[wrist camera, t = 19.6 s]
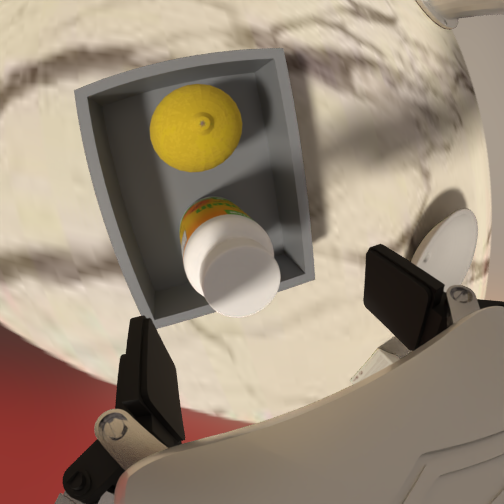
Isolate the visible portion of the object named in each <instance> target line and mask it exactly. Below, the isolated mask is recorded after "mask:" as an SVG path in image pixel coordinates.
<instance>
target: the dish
mask: <svg viewBox="0 0 504 504" xmlns="http://www.w3.org/2000/svg"><path fill="white" fill-rule="evenodd" d="M477 236H478V226H477V220H476V217H475V215H474V213H473V212H472V211H471V210H469V209H465V208H463V209H459V210H457V211H455V212H454V213H452V214H451V215H450V216H449V217H447V218H446V219H444V220H443V221H441V222H440V223H439V224H437V225H436V226H435V227H434V228H433V229H432V230H431V231H430V232H429V233H428V234H427V235H426V236H425V238H424V239H423V240H422V242H421V243H420V245H419V246H418V248H417V250H416V252H415V254H414V256H413V258H412V260H411V263H413V264H415V265H416V266H418V267H419V268H421V269H422V270H424V271H425V272H427V273H428V274H430V275H431V276H433V277H434V278H436V279H437V280H439V281H440V282H442V283H443V284H445V287H444V292H447V289H448V288H449V287H450V286H453V285H461V283H462V282H463V280H464V278H465V276H466V274H467V272H468V269H469V267H470V265H471V262H472V259H473V256H474V252H475V248H476V243H477Z"/></svg>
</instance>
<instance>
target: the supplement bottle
mask: <svg viewBox="0 0 504 504" xmlns="http://www.w3.org/2000/svg"><path fill="white" fill-rule="evenodd" d="M179 234H180V242H181V249H182V256H183V263H184V269H185V272H186V275H187V278H188V280H189V282H190V283H191V285H192V286H193V287H194V289H195V290H196V291H197V292H198V293H200V294H201V295H202V296H204V297H205V299H206V301H207V302H208V304H209V305H210V306H211V307H212V308H213V309H214V310H215V311H217V312H218V313H220V314H222V315H225V316H228V317H236V318H237V317H246V316H250V315H253V314H255V313H257V312H259V311H261V310H262V309H264V308H265V307H266V306H267V305H268V304H269V303H270V302H271V301H272V300H273V299H274V297H275V295H276V294H277V291H278V289H279V285H280V279H281V275H280V269H279V266H278V263H277V261H276V260H275V258H274V250H273V246H272V243H271V240H270V238H269V236H268V234H267V233H266V232H265V230H264V229H263V228H262V227H261V226H260V225H259V224H258V223H256V222H255V221H254V220H253V219H252V218H250V217H249V216H248V215H247V214H246V213H245V212H244V211H242V210H241V209H240V208H239V207H238V206H237V205H236V204H234V203H233V202H231V201H230V200H228V199H225V198H222V197H206V198H202V199H200V200H198V201H196V202H194V203H193V204H192V205H191V206H190V207H189V208H188V209H187V210H186V211H185V213H184V215H183V217H182V219H181V222H180V229H179Z"/></svg>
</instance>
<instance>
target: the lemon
mask: <svg viewBox="0 0 504 504" xmlns="http://www.w3.org/2000/svg"><path fill="white" fill-rule="evenodd" d="M241 134H242V119H241V113H240V111H239V109H238V107H237V105H236V103H235V102H234V101H233V99H232V98H231V97H230V96H229V95H228V94H227V93H225V92H224V91H222V90H221V89H219V88H216V87H213V86H211V85H205V84H192V85H186V86H183V87H181V88H178V89H176V90H174V91H172V92H171V93H169V94H168V95H167V96H165V97H164V98H163V100H162V101H161V102H160V103H159V104H158V106H157V107H156V109H155V111H154V113H153V115H152V118H151V123H150V139H151V142H152V145H153V147H154V150H155V151H156V153H157V154H158V156H159V157H160V158H161V159H162V160H163V161H164V162H165V163H167V164H168V165H169V166H171V167H173V168H175V169H178V170H180V171H186V172H203V171H206V170H209V169H213V168H215V167H216V166H218V165H220V164H222V163H223V162H224V161H225V160H226V159H227V158H229V157H230V156H231V155H232V153H233V152H234V150H235V149H236V147H237V146H238V143H239V140H240V137H241Z"/></svg>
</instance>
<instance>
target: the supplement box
mask: <svg viewBox="0 0 504 504" xmlns="http://www.w3.org/2000/svg"><path fill="white" fill-rule="evenodd" d="M399 359H400V358H399V357H398V356H397V355H394V354H391V353H388V352H386V351H383V350H381V349H379V348H378V349H377V350H376V351H375V352H374V353H373V355H372V356H371V357H370V358H369V359H368V360H367V362H366V363H365V364H364V365H363V366H362V367H361V368H360V370H359V371H358V372H357V373H356V374H355V375H354V376H353V377H352V379H351V380H350V381H351V383H352V384H355V383H357V382H359V381H361V380H363V379H365V378H367V377H369V376H371V375H373V374H375V373H376V372H378V371H380V370H382V369H384V368H385V367H387V366H389V365H391V364H392V363H394V362H396V361H398V360H399Z"/></svg>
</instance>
